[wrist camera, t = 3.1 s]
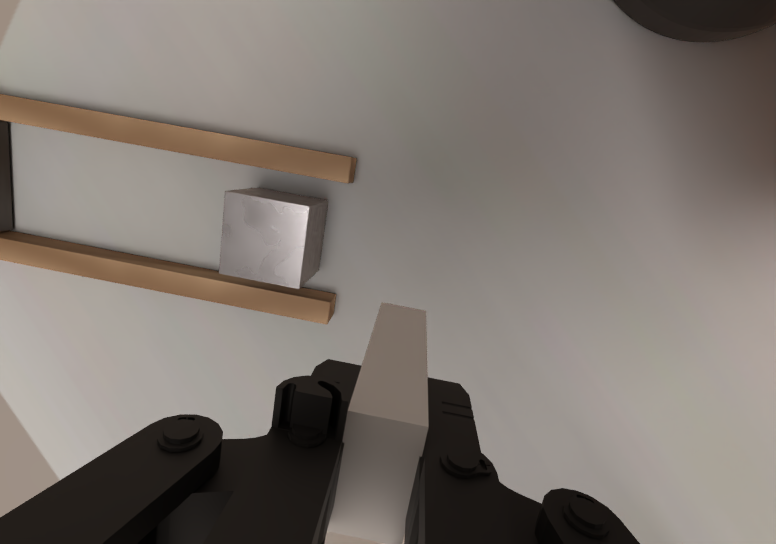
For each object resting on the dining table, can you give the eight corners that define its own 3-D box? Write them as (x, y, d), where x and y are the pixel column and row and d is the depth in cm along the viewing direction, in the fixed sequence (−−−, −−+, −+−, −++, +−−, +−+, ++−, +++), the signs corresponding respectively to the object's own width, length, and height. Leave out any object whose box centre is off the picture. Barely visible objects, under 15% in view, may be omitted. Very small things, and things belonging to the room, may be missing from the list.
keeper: (258, 187, 29) (224, 190, 24) (328, 200, 29) (309, 206, 24) (251, 256, 31) (218, 273, 26) (319, 269, 30) (299, 289, 25)
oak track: (-25, 89, 29) (-115, 73, 24) (356, 158, 28) (342, 155, 23) (-15, 246, 32) (-94, 259, 27) (333, 314, 31) (315, 341, 26)
